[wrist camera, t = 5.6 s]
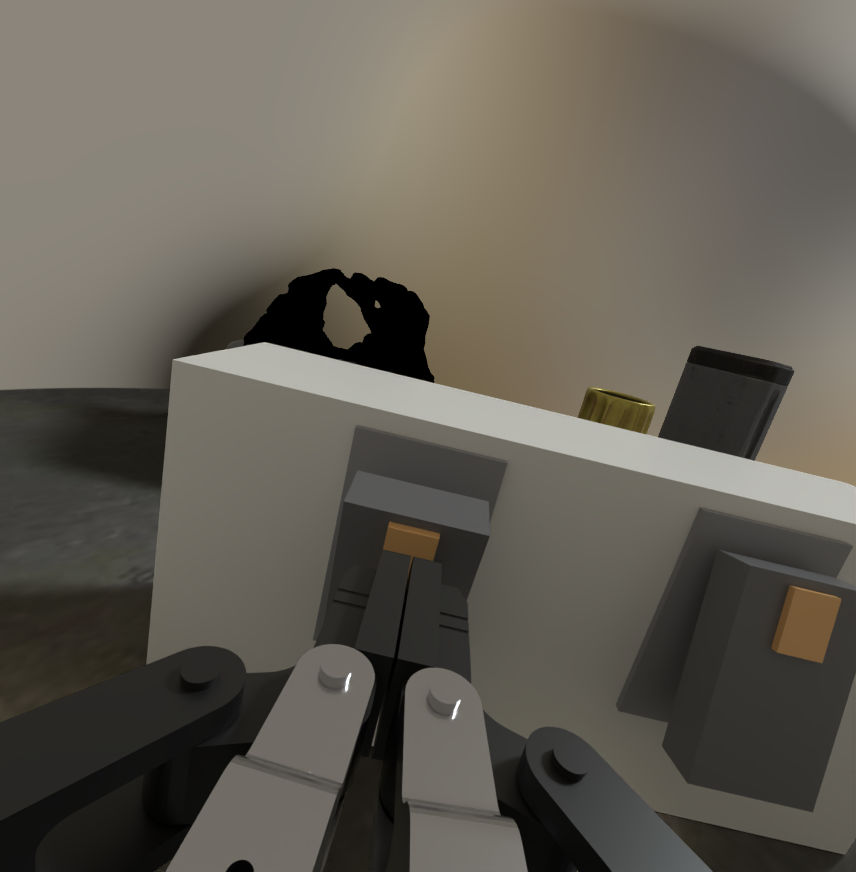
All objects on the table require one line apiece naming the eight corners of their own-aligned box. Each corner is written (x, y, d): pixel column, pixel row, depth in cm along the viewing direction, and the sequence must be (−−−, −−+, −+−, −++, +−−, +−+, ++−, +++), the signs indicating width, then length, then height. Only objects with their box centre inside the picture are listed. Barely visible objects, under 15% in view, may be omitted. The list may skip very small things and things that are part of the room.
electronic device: (725, 539, 54) (802, 369, 49) (694, 541, 51) (773, 360, 46) (656, 502, 62) (716, 351, 57) (626, 502, 59) (687, 343, 54)
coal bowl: (418, 521, 40) (474, 297, 35) (176, 475, 38) (199, 229, 33) (413, 448, 59) (449, 296, 54) (252, 414, 57) (274, 253, 52)
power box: (231, 583, 27) (264, 342, 23) (734, 701, 28) (846, 483, 24) (138, 699, 19) (167, 360, 15) (850, 862, 20) (1046, 572, 16)
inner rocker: (661, 746, 16) (717, 549, 16) (774, 772, 16) (833, 576, 16) (692, 789, 14) (756, 568, 14) (818, 819, 14) (887, 599, 14)
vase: (614, 564, 41) (674, 408, 37) (577, 579, 37) (640, 406, 33) (556, 530, 45) (605, 387, 42) (517, 540, 41) (568, 382, 38)
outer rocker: (329, 629, 17) (357, 470, 14) (436, 654, 17) (488, 501, 14) (313, 675, 16) (341, 506, 12) (431, 702, 16) (490, 541, 12)
